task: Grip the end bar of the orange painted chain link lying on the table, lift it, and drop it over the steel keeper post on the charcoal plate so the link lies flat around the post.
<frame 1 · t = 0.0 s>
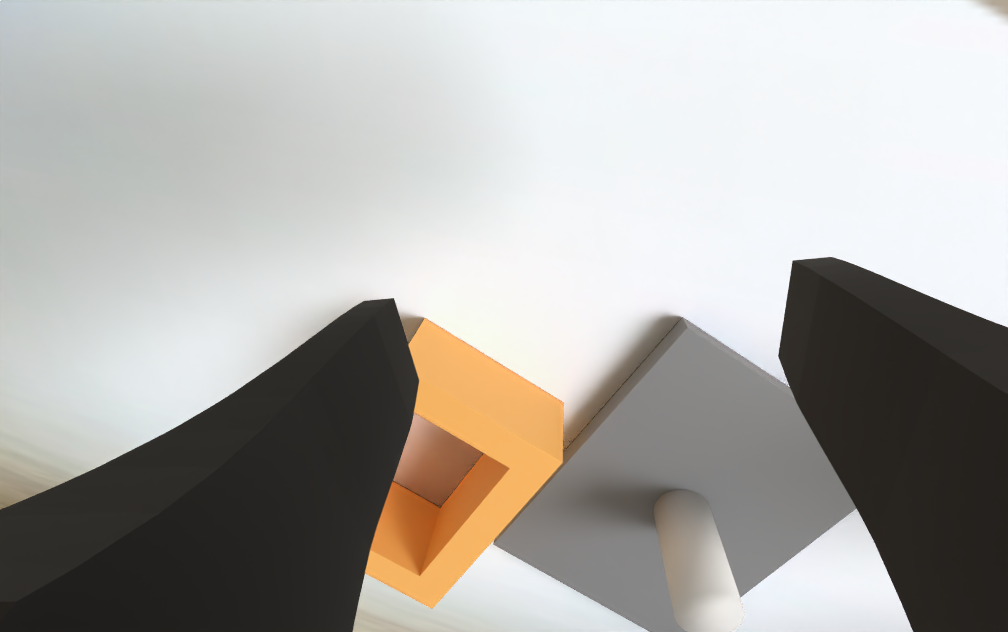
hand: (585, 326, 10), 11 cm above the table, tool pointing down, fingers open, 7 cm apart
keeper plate: (677, 494, 24), on the table
link: (439, 438, 24), on the table
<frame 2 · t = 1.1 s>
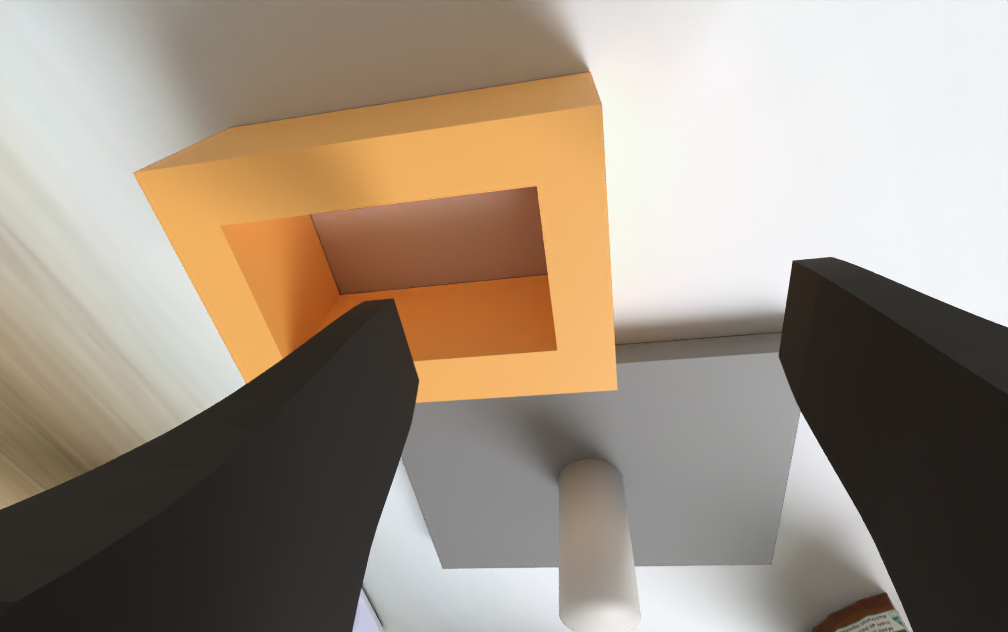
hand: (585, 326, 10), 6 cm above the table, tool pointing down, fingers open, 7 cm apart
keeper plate: (589, 460, 21), on the table
link: (430, 224, 16), on the table
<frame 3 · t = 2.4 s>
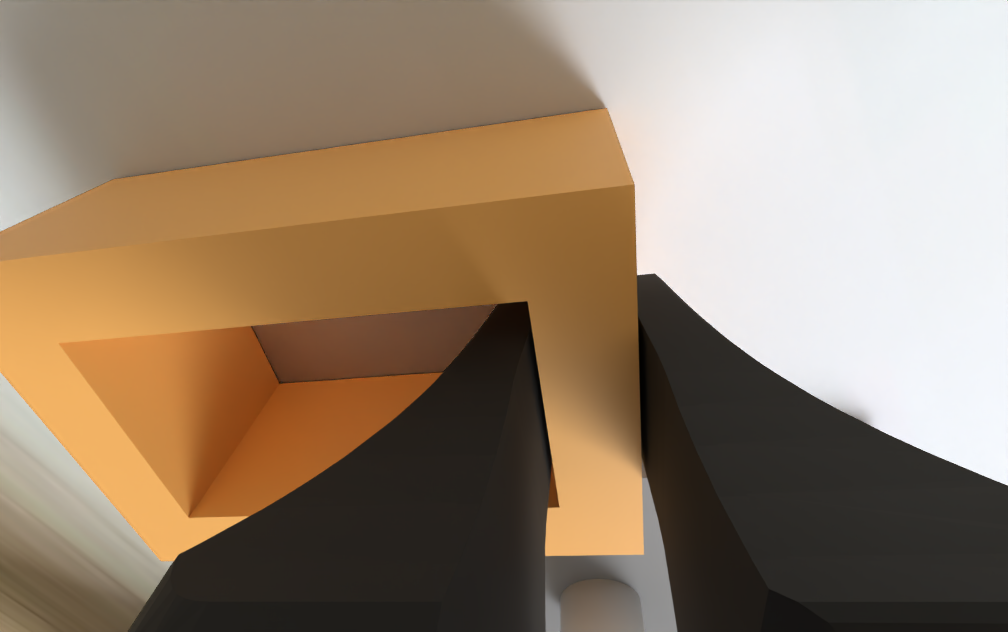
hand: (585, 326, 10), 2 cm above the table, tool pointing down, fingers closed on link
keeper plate: (597, 570, 17), on the table
link: (390, 302, 12), on the table, touching gripper
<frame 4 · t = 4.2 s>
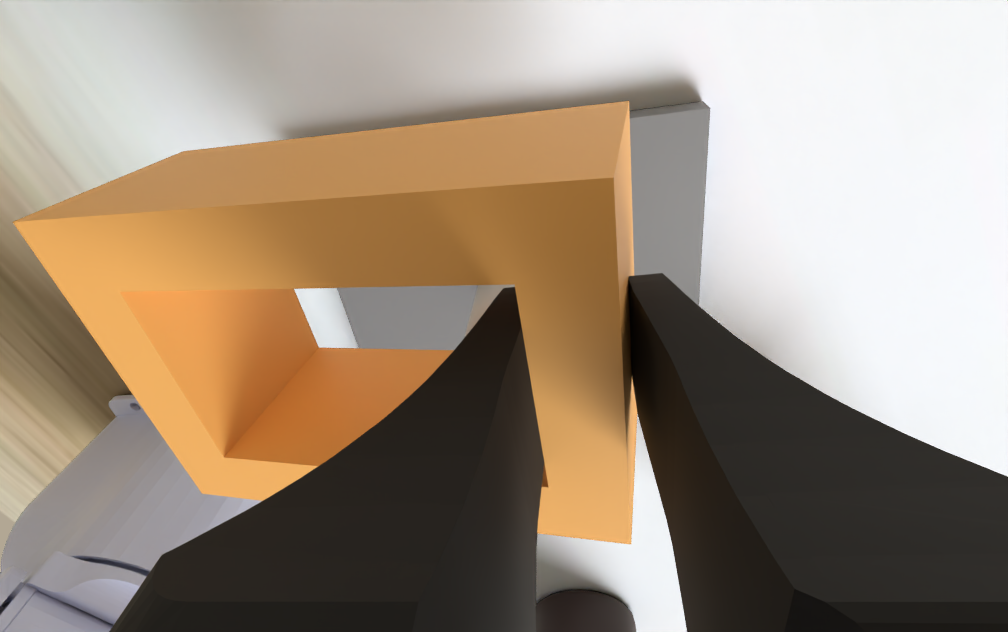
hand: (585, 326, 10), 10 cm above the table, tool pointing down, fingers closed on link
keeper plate: (513, 269, 21), on the table
link: (418, 279, 13), point 8 cm above the table, tilted 9°, touching gripper
vinegar: (581, 612, 35), on the table
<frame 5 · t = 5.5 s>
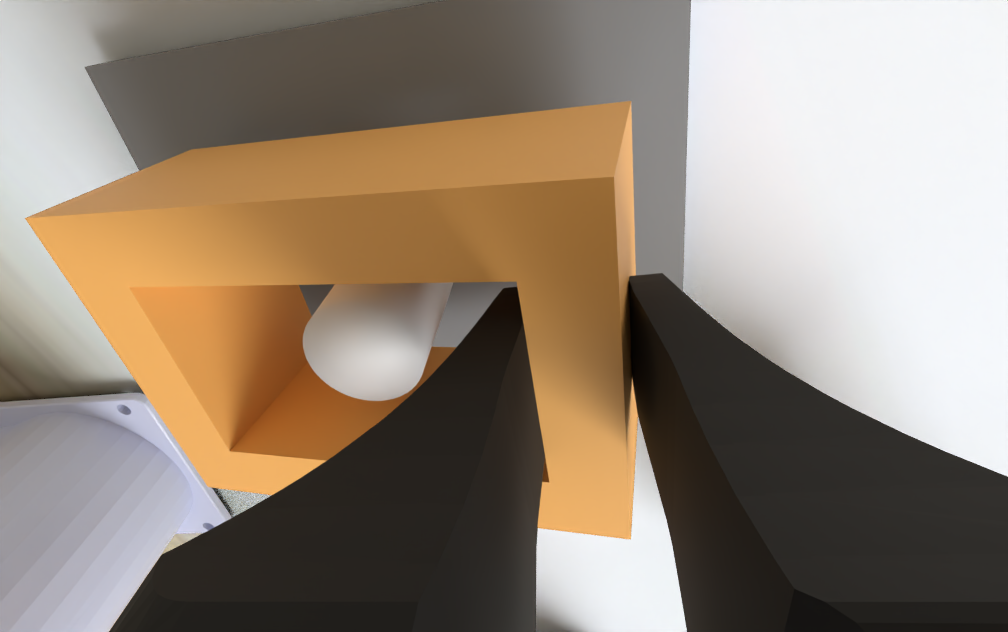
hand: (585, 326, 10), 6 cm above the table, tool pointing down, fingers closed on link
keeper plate: (427, 229, 15), on the table
link: (422, 276, 13), point 3 cm above the table, tilted 9°, touching gripper
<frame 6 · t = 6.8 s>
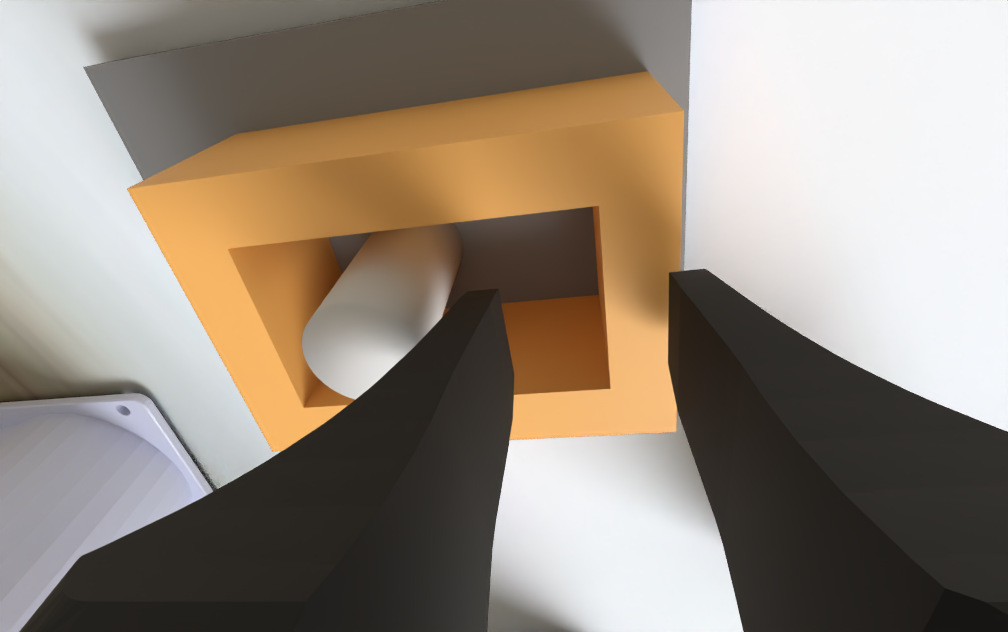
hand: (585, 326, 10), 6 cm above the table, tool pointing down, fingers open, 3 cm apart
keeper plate: (427, 229, 15), on the table
link: (459, 240, 14), point 1 cm above the table, touching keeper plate
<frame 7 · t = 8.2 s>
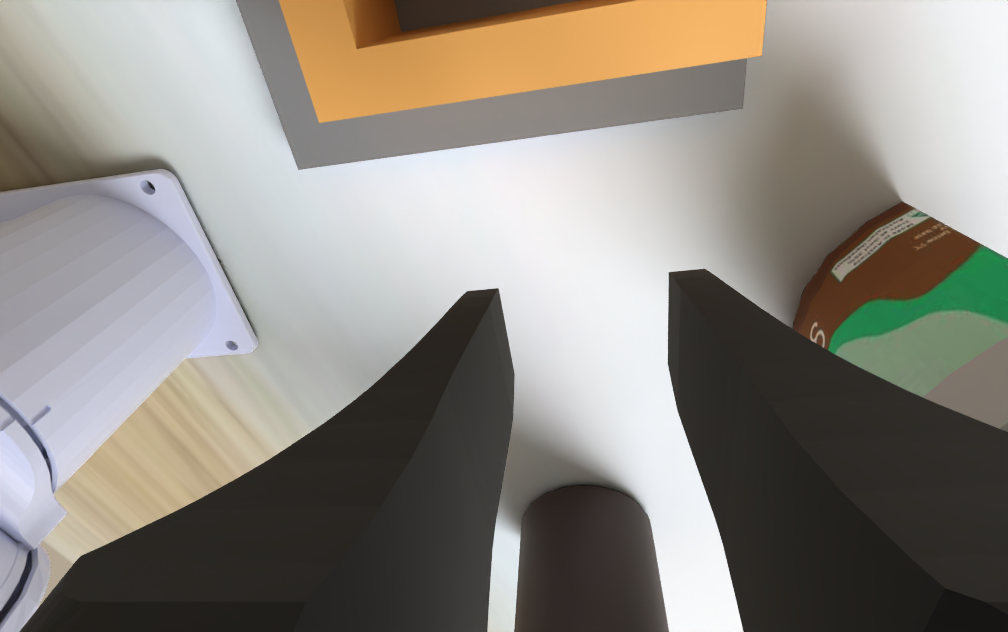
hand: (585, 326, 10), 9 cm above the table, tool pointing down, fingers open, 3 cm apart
food container: (847, 336, 21), on the table
vinegar: (584, 520, 28), on the table
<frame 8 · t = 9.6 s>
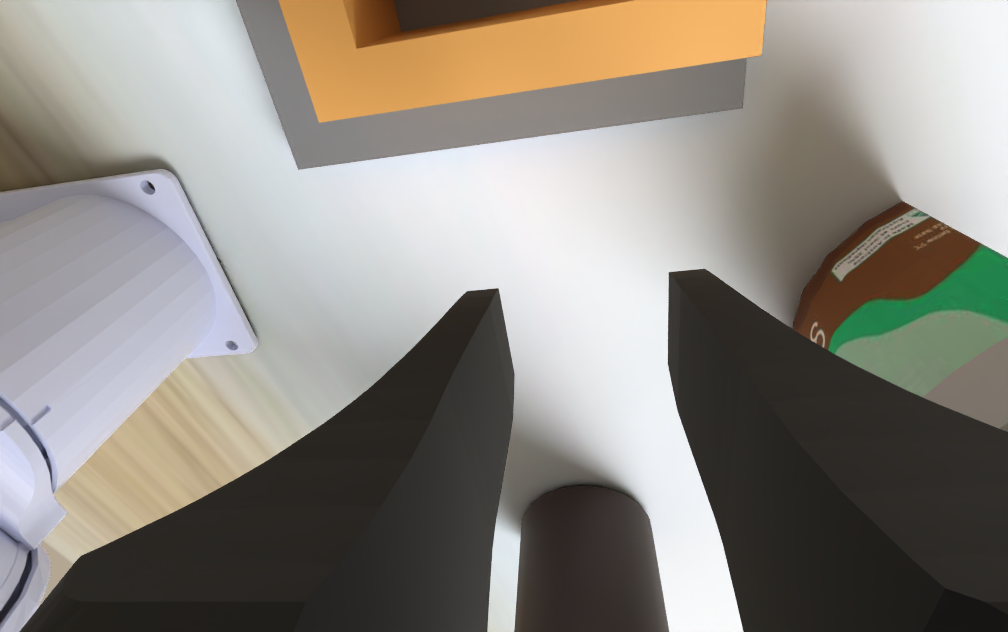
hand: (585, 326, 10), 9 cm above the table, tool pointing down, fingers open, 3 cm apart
food container: (847, 336, 21), on the table
vinegar: (585, 520, 28), on the table
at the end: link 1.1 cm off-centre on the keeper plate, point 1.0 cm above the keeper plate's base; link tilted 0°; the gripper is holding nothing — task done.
